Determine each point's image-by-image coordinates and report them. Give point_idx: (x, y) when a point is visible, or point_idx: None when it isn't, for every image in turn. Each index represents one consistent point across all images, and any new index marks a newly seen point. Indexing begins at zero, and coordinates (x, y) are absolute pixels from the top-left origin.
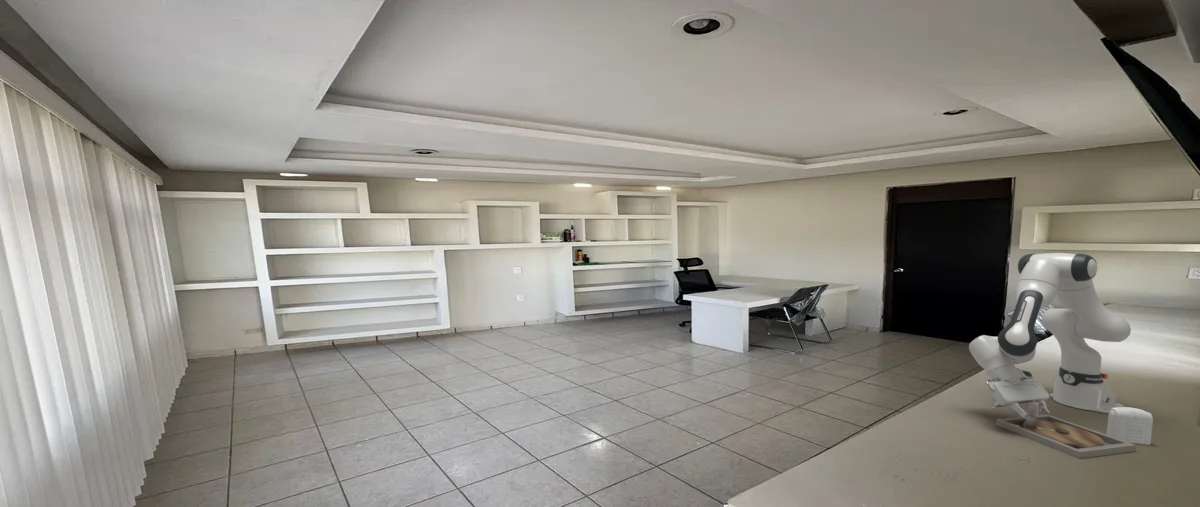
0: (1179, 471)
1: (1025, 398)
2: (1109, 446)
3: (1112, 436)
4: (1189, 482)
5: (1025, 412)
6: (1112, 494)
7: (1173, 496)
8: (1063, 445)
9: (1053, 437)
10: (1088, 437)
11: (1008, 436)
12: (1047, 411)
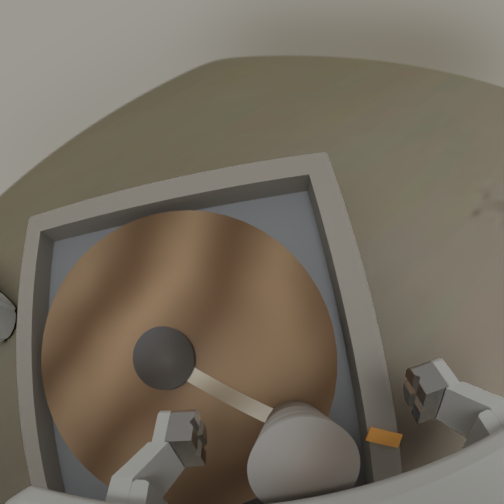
0: (70, 151)
1: (393, 492)
2: (130, 198)
3: (1, 310)
4: (123, 106)
5: (435, 371)
6: (388, 67)
7: (250, 58)
8: (341, 202)
9: (295, 294)
10: (104, 288)
11: None
12: (177, 414)
